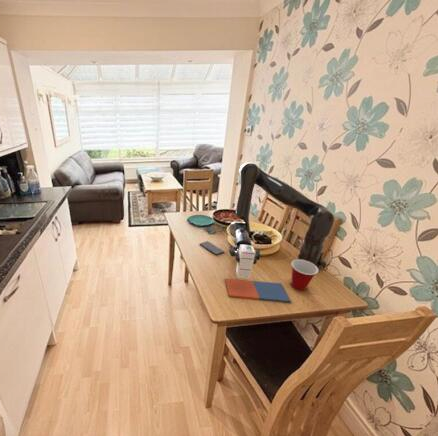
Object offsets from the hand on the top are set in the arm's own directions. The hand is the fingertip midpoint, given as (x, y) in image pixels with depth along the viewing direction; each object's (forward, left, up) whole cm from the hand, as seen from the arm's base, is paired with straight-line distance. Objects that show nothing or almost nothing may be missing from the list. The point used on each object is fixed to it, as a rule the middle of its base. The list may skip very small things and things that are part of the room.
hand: (246, 261), depth 104 cm
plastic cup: (-28, -8, -17) cm, 34 cm away
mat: (-7, -2, -17) cm, 19 cm away
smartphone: (+10, -38, -17) cm, 43 cm away
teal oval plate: (+12, -73, -17) cm, 76 cm away
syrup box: (0, -3, -9) cm, 10 cm away
